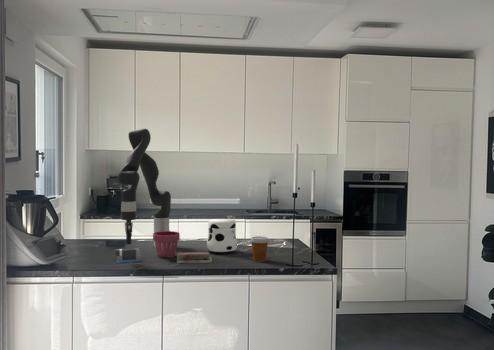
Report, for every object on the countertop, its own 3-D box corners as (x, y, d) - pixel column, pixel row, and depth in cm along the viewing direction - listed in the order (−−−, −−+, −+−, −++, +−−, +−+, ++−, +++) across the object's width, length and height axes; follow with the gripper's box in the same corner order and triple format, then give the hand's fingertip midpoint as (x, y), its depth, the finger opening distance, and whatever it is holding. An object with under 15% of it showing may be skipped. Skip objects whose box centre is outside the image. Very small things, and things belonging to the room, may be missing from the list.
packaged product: (176, 254, 238) (177, 251, 248) (176, 264, 238) (177, 260, 248) (212, 254, 241) (211, 250, 250) (212, 263, 241) (211, 259, 251)
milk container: (243, 252, 269) (243, 220, 268) (221, 256, 256) (221, 223, 255) (222, 248, 280) (222, 217, 280) (200, 252, 268) (200, 220, 267)
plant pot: (171, 260, 245) (171, 235, 245) (147, 258, 250) (147, 234, 249) (184, 255, 258) (184, 232, 258) (161, 253, 263) (161, 230, 263)
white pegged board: (138, 254, 260) (138, 247, 260) (141, 262, 239) (141, 255, 239) (115, 255, 256) (115, 248, 256) (116, 264, 235) (116, 257, 235)
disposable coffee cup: (257, 263, 241) (258, 239, 240) (246, 259, 248) (247, 237, 248) (272, 261, 246) (272, 238, 246) (261, 257, 254) (261, 235, 253)
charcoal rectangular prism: (135, 258, 244) (135, 248, 244) (135, 259, 241) (136, 249, 241) (115, 259, 241) (115, 249, 241) (115, 260, 238) (115, 250, 238)
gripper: (137, 211, 235) (137, 245, 236) (135, 208, 249) (135, 240, 249) (121, 211, 233) (121, 246, 234) (120, 208, 247) (120, 241, 247)
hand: (128, 243), depth 241 cm, fingers open, 4 cm apart
